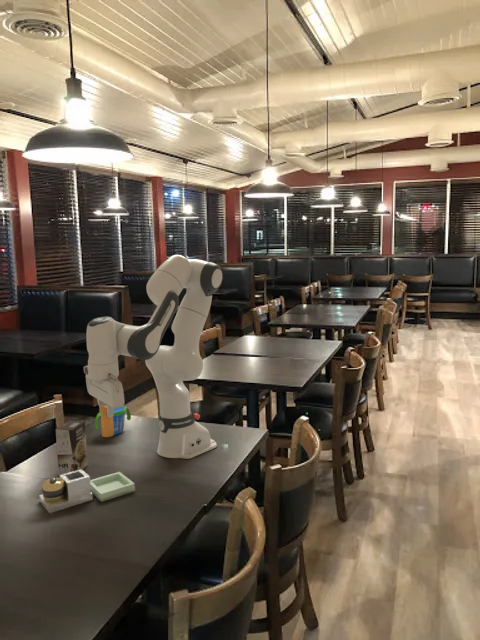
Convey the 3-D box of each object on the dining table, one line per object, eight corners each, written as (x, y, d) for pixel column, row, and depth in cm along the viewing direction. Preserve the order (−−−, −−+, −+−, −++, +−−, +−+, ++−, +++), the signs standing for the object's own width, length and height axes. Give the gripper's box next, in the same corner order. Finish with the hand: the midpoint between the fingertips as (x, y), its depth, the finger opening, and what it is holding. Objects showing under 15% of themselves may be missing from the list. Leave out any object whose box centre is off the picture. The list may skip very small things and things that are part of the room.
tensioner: (81, 488, 168) (80, 464, 167) (92, 499, 161) (91, 474, 160) (39, 501, 161) (37, 476, 159) (48, 513, 153) (46, 487, 152)
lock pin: (110, 432, 167) (109, 404, 166) (115, 435, 165) (113, 407, 163) (100, 434, 165) (98, 406, 164) (104, 438, 163) (102, 409, 161)
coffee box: (75, 476, 177) (72, 430, 175) (57, 475, 179) (54, 428, 176) (88, 465, 186) (85, 420, 184) (71, 463, 187) (68, 419, 185)
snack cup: (101, 440, 209) (100, 415, 207) (90, 433, 217) (88, 409, 215) (137, 431, 218) (136, 407, 217) (125, 424, 227) (124, 401, 225)
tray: (119, 478, 175) (119, 471, 175) (134, 491, 166) (134, 483, 166) (87, 488, 169) (87, 481, 168) (101, 501, 160) (101, 494, 159)
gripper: (128, 375, 155) (131, 421, 158) (100, 363, 171) (103, 404, 174) (107, 379, 152) (111, 426, 154) (81, 366, 168) (84, 408, 170)
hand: (106, 414), depth 164 cm, fingers closed on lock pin, 3 cm apart
